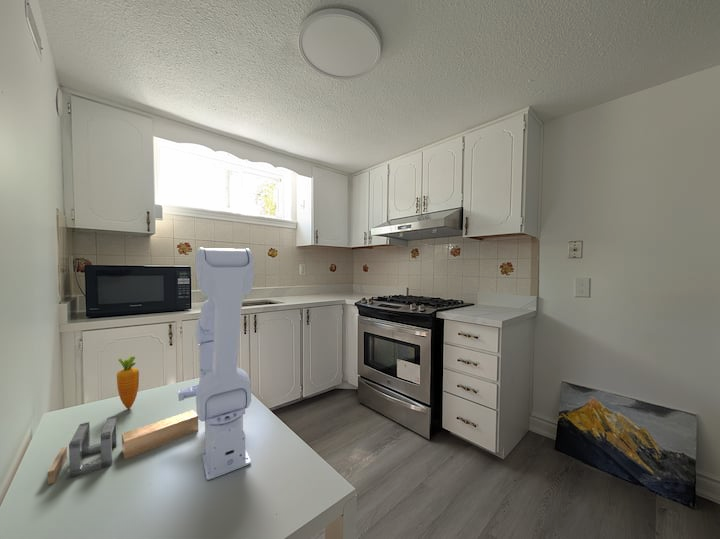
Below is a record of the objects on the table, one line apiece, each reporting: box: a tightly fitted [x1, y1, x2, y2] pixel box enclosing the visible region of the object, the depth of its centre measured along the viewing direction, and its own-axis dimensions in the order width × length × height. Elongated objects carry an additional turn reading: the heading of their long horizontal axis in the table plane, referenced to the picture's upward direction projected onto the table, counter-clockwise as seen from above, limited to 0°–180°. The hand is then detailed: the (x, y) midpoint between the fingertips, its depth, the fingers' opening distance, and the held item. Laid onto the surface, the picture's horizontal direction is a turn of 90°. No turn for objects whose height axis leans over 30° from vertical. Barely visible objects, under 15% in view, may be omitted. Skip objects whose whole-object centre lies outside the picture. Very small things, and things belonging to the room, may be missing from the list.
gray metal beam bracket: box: [65, 415, 118, 480], centre depth 59 cm, size 8×6×6 cm
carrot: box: [116, 355, 140, 410], centre depth 80 cm, size 5×5×15 cm
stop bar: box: [47, 446, 68, 486], centre depth 56 cm, size 8×1×2 cm, turn 34°
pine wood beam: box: [121, 409, 199, 460], centre depth 66 cm, size 4×14×4 cm, turn 136°
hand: (213, 420), depth 72 cm, fingers closed
